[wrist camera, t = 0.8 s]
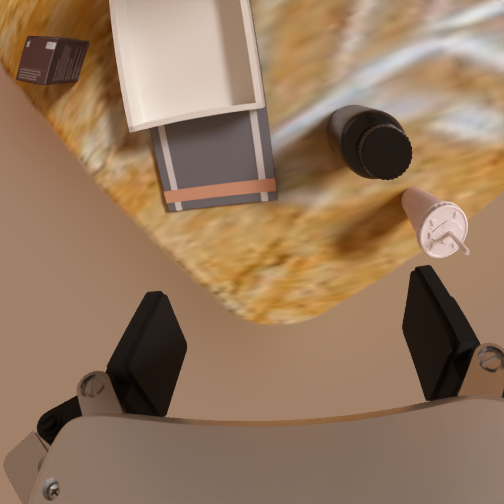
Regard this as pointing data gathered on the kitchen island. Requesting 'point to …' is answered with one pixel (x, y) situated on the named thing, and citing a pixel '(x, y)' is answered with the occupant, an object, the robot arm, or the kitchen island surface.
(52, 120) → the kitchen island surface
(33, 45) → the box
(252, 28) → the white tray
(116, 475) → the robot arm
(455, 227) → the smoothie
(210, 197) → the rail board
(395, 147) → the supplement bottle
